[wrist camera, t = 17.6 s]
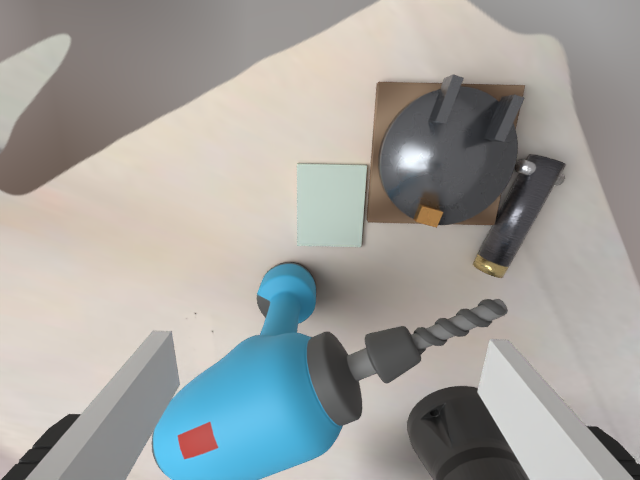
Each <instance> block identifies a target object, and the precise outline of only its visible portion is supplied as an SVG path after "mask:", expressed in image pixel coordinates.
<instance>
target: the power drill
mask: <svg viewBox="0 0 640 480" xmlns="http://www.w3.org/2000/svg"><path fill="white" fill-rule="evenodd" d="M257 304H258V307H259V309H260V311H261V313H262V314H263V315H264V316H265V318H266V319H265V322H264V325H263V328H262V331H261V333H260V335H256V336H252V337H250V338H248V339H246V340H244V341H242V342H241V343H240V344H238V345H237V346H236V347H235V348H234V349H233V350H232V351H230V352H229V353H228V354H227V355H226V356H225V357H224V358H222V359H221V360H220V361H218V362H217V363H216V364H214V365H213V366H211V367H210V368H208V369H207V370H205V371H204V372H202V373H201V374H200V375H198V376H197V377H196V378H194V379H193V380H192V381H191V382H189V383H188V384H187V385H186V386H185V387H184V388H183V389H182V390H180V391H179V392H178V393H177V394H176V396H175V397H174V398H173V399H172V400H171V401H170V402H169V404H168V406H167V408H166V409H165V411H164V413H163V415H162V417H161V418H160V420H159V422H158V424H157V425H156V427H155V429H154V431H153V435H152V453H153V456H154V459H155V461H156V463H157V465H158V467H159V468H160V469H161V471H162V472H163V473H164V474H165V475H167V476H168V477H169V478H170V479H172V480H259V479H262V478H264V477H267V476H270V475H272V474H275V473H278V472H280V471H283V470H286V469H288V468H291V467H294V466H297V465H299V464H302V463H305V462H307V461H310V460H312V459H314V458H317V457H319V456H320V455H322V454H324V453H325V452H326V451H327V450H328V449H329V448H330V447H331V446H332V445H333V443H334V442H335V440H336V439H337V437H338V435H339V433H340V431H341V429H342V426H343V425H345V424H348V423H350V422H353V421H355V420H358V419H359V418H360V416H361V413H362V397H361V390H360V385H359V380H362V379H364V378H366V377H369V376H371V375H374V374H376V373H377V374H378V376H379V377H380V378H381V380H382V381H383V382H384V383H389V382H391V381H393V380H394V379H396V378H397V377H399V376H400V375H402V374H403V373H405V372H406V371H408V370H409V369H411V368H412V367H414V366H415V365H417V364H418V363H419V362H420V361H421V356H420V354H422V353H423V352H424V351H425V350H426V348H427V347H429V346H432V345H435V346H441V345H444V344H445V343H446V342H447V339H449V338H451V337H453V336H458V337H460V336H466V335H467V334H468V333H469V330H470V329H473V328H475V327H477V326H479V327H488V326H489V325H490V324H491V323H492V320H494V319H497V318H499V317H501V316H503V315H505V314H506V313H507V311H508V310H507V307H506V305H505V304H504V302H503V301H502V300H500V299H495V300H490V299H486V300H482V301H481V302H480V303H479V304H478V307H476V308H473V309H471V310H469V309H461V310H460V311H459V312H458V313H457V314H456V316H454V317H452V318H450V319H446V318H440V319H438V320H437V321H436V322H435V325H433V326H431V327H429V328H426V329H425V328H424V327H421V328H417V329H416V330H415V331H414V334H412V335H411V334H410V332H409V331H408V329H407V328H406V327H405V326H401V327H396V328H392V329H387V330H383V331H378V332H374V333H370V334H367V335H366V336H365V344H366V348H365V349H362V350H360V351H358V352H355V353H353V354H351V355H348V354H347V352H346V350H345V349H344V347H343V346H342V344H341V343H340V342H339V340H338V339H337V338H336V337H335V336H334V335H333V334H332V333H330V332H323V333H321V334H319V335H317V336H314V337H309V336H306V335H304V334H300V333H297V327H298V324H299V323H301V322H303V321H305V320H306V319H307V318H308V317H309V316H310V315H311V314H312V313H313V311H314V309H315V304H316V284H315V281H314V279H313V276H312V275H311V274H310V272H309V271H308V270H307V269H306V268H305V267H303V266H302V265H300V264H297V263H292V262H288V263H282V264H279V265H276V266H275V267H273V268H271V269H270V270H269V271H268V272H267V273H266V274H265V276H264V278H263V280H262V282H261V285H260V288H259V290H258V293H257Z"/></svg>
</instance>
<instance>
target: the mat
mask: <svg viewBox="0 0 640 480" xmlns="http://www.w3.org/2000/svg"><path fill="white" fill-rule="evenodd" d="M366 173H367V165H347V164H304V163H297V246H337V247H361V243H362V229H363V215H364V201H365V187H366Z"/></svg>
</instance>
